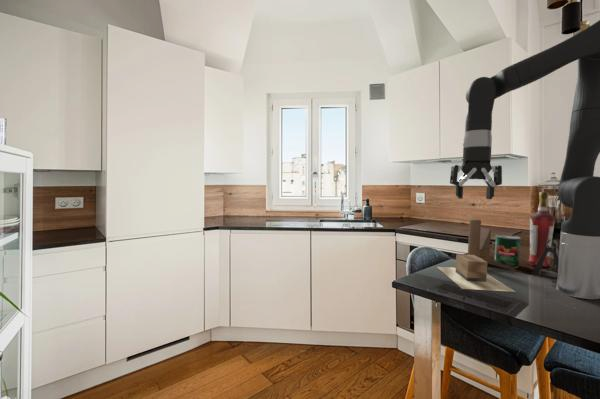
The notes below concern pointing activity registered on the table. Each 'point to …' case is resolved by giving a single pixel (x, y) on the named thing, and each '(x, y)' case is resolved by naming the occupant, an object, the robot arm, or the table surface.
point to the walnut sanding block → (471, 267)
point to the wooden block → (479, 240)
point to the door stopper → (541, 260)
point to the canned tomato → (507, 250)
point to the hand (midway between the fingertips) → (474, 198)
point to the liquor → (540, 231)
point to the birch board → (476, 285)
